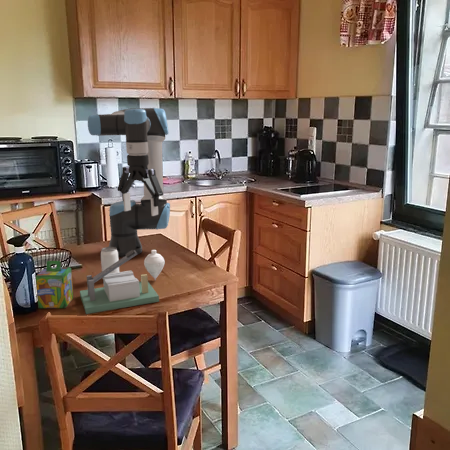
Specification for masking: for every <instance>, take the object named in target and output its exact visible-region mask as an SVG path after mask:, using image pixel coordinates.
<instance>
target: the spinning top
mask: <svg viewBox="0 0 450 450" xmlns="http://www.w3.org/2000/svg"><path fill="white" fill-rule="evenodd" d="M143 265H144V268H145V270H146V271H147V273H148V274H150V276H151V277H152V278H153V279H154V281H156V280H157V278H158V276H160V274H161V272H162V271H163V268H164V267H165V258H164V256H162V255H161V254H160V253H157V250H156V249H151V253H149V254H148V255H147V256H146V257H145V258H144V261H143Z"/></svg>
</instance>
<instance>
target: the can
mask: <svg viewBox="0 0 450 450" xmlns="http://www.w3.org/2000/svg"><path fill="white" fill-rule="evenodd" d="M119 260H120V259H119V257H118V251H117V248H116V247H109V246H106V247H102V248H101V251H100V262H101V263H100V266H101V272H102V271H104V270H105V269H107V268H108V267H110V266H111V265H113V264H114V263H116V262H117V261H119ZM117 272H120V266H119V267H118V268H116V269H115V270H113V271H112V272H110V273H117ZM110 273H109V274H110Z"/></svg>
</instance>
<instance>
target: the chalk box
mask: <svg viewBox="0 0 450 450" xmlns="http://www.w3.org/2000/svg"><path fill="white" fill-rule="evenodd" d="M52 265H56V266H52ZM72 274H73V273H72V268H71V267H69V266H62V262H61V260H47V261H46V267H43V269H42V270H40V271H39V272H38V273H37V275H35V283H36V295H37V296H36V297H37V306H38V307H37V308H38V309H66V308H67V307H68V305H69V304H70V303H71V301H72V300H73V299H74V287H73V277H72Z"/></svg>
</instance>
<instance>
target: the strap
mask: <svg viewBox="0 0 450 450" xmlns="http://www.w3.org/2000/svg"><path fill="white" fill-rule="evenodd" d="M125 255H126V256H125V257H121V258H120V259H119V261H117V262H116V263H114V264H113V265H111V266H110V267H108V268H107V269H105V270H104V271H102V270H101V271H100V272H99V273H97V274H96V275H94V276H93V277H92V278H91V279H89V280H94V284H95V283H97V282H98V281H100V280H102V279H103V277H104V276H106V275H107V274H109V273H110V272H112V271H113V270H115V269H116V268H118V267H119V268H120V267H121V266H122V265H124V264H125V263H127V262H129V261H130V260H131V259H132V258H134V257H135V256H137V255H138V254H137V252H136V251H135V250H134V251H133V250H131V251H130V252H128V253H126V254H125Z"/></svg>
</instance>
